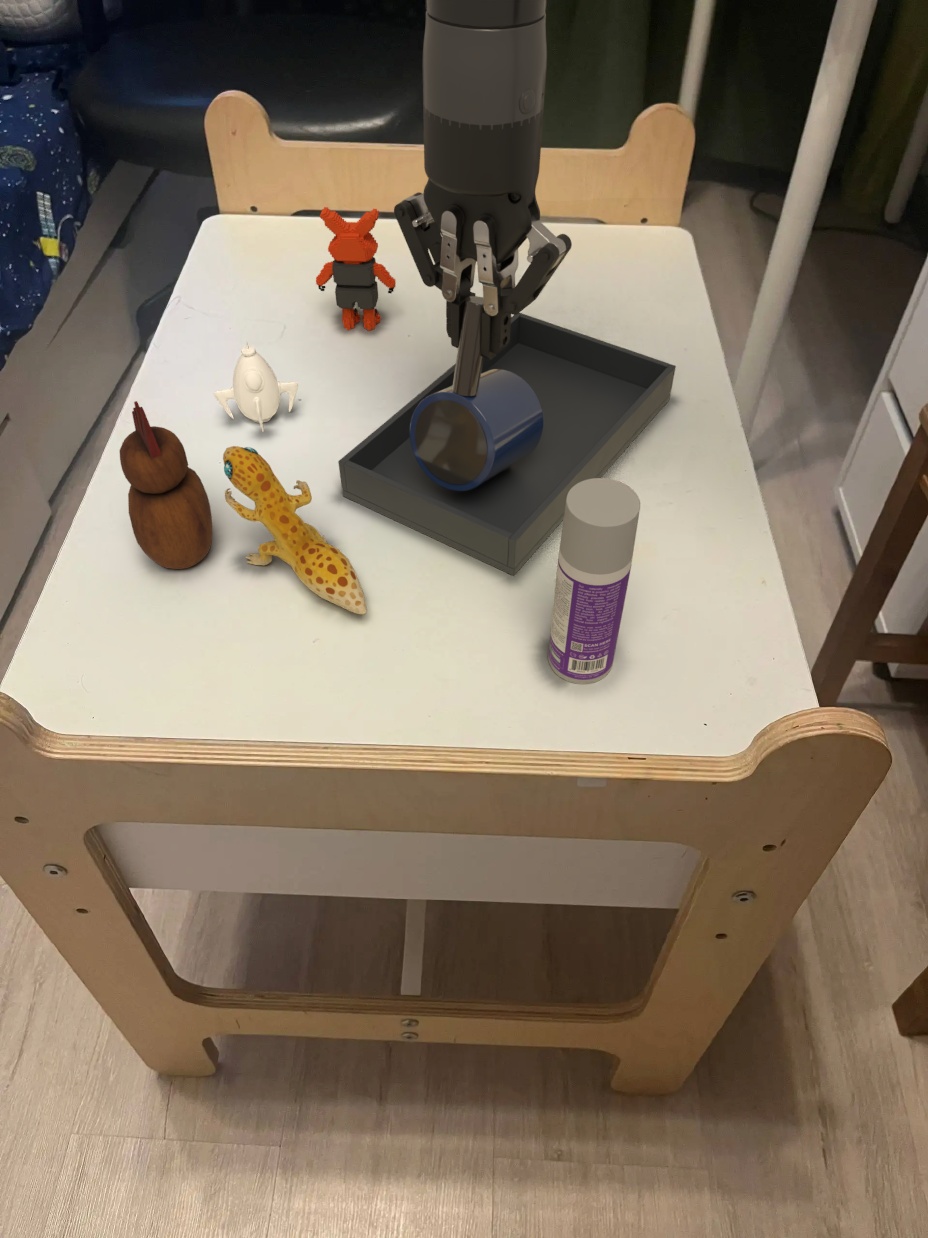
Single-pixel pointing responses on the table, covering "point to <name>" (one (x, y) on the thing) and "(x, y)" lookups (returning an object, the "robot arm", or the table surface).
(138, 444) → the wooden figurine
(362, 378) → the table surface
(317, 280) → the toy animal
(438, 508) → the tray
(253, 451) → the toy
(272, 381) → the rocket toy
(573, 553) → the container
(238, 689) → the table surface
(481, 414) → the blue saucepan
